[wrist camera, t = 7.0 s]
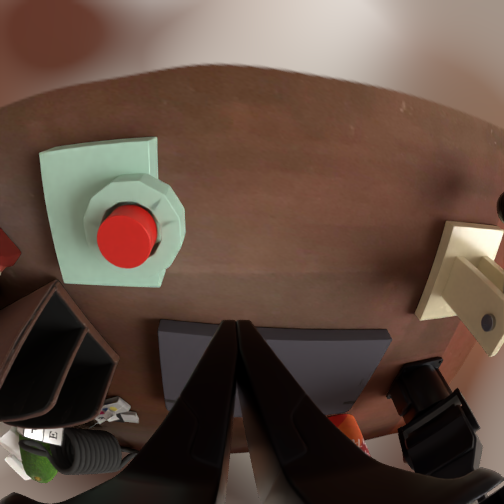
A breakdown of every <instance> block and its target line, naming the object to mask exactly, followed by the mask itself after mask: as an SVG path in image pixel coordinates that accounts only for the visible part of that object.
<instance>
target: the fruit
mask: <svg viewBox="0 0 504 504" xmlns="http://www.w3.org/2000/svg"><path fill="white" fill-rule="evenodd" d="M23 439H26V440H32V439H28V438H25V437H23V436H22V435H21V434H19V441H20V440H23ZM34 441H36V440H34ZM36 442H38V443H40V444H42V445H43V446H44V447H45V448H46V449H47V450H48V452H49V453H50V454H51V450H50V444H48V443H44V442H40V441H36ZM28 446H29V445H28ZM19 447H20V446H19ZM31 447H34V448H37V447H35V446H31ZM37 449H39V448H37ZM20 454H21V459H22V464H23V468H24V470H25V472H26V474H27V475H28V476H29V477H30V478H32V479H33V480H35V481H37V482H40V483H47V482H49V481H51V480H52V479H53V478H54V476H55V475H56V474H57V472H58V471H57V470H56V469H55V468H54V467H53V465H52V464H51V463H50V461H49V460H48V458H47V457H43V456H39V455H36V454H33V453H30V452H28V451H25V450H24V449H22V448H21V447H20ZM51 456H52V454H51Z"/></svg>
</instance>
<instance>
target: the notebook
mask: <svg viewBox="0 0 504 504" xmlns="http://www.w3.org/2000/svg"><path fill="white" fill-rule="evenodd" d="M218 327H219V325H216V324H204V323H193V322H183V321H173V320H164V319H161V320H160V324H159V328H158V341H159V353H160V363H161V372H162V381H163V390H164V397H165V398H164V399H165V405H166V409H167V410H168V411H170V410H171V408H172V407H173V405H174V403H175V402H176V400H177V398H178V397H179V395H180V393H181V392H182V390H183V388H184V386H185V385H186V383H187V381H188V379H189V378H190V376H191V374H192V372H193V371H194V369H195V367H196V365H197V364H198V362H199V360H200V358H201V357H202V355H203V353H204V351H205V350H206V348H207V346H208V344H209V343H210V341H211V339H212V337H213V336H214V334H215V332H216V330H217V329H218ZM255 328H256V329H257V330H258V332H259V333H260V334H261V336H262V337H263V338H264V340H265V341H266V342H267V344H268V345H269V346H270V347H271V349H272V350H273V351H274V353H275V354H276V355H277V357H278V358H279V359H280V360H281V362H282V363H283V364H284V366H285V367H286V368H287V369H288V371H289V372H290V373H291V375H292V376H293V377H294V378H295V380H296V381H297V382H298V383H299V385H300V386H301V387H302V388H303V390H304V391H305V392H306V394H307V395H308V396H309V397H310V398H311V400H312V401H313V402H314V403H315V404H316V406H317V407H318V408H319V409H320V410H321V411H322V412H323V414H324V415H330V414H341V413H345V412H347V411H349V410H350V409H351V407H352V406H353V404H354V403H355V401H356V400H357V398H358V397H359V395H360V393H361V392H362V390H363V389H364V387H365V386H366V384H367V382H368V381H369V379H370V378H371V376H372V374H373V373H374V371H375V369H376V368H377V366H378V364H379V362H380V361H381V359H382V357H383V355H384V354H385V352H386V350H387V348H388V346H389V345H390V343H391V341H392V338H391V336H390V334H389V333H388V331H387V329H380V330H315V329H282V328H261V327H255ZM234 417H242V413H241V407H240V402H239V397H238V390H237V386H236V399H235V409H234Z"/></svg>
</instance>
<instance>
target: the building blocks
mask: <svg viewBox="0 0 504 504" xmlns="http://www.w3.org/2000/svg"><path fill="white" fill-rule="evenodd" d="M63 431H64V428H57V429H25V428H19V427H17V432H18V433H19V434H21V435H22V436H23V437H25V438H28V439H32V440H36V441H40V442H44V443H48V444H52V445H57V446H61V447H62V441H63Z"/></svg>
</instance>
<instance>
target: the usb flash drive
mask: <svg viewBox="0 0 504 504" xmlns="http://www.w3.org/2000/svg"><path fill="white" fill-rule="evenodd" d="M124 405H125V406H124ZM122 406H123V407H122ZM121 407H122V408H121ZM119 408H120V409H119ZM130 408H131V406H130V405H129V404H128V403H126V402H125V401H124V400H123V399H121V398H120V397H119V396H117V397H113V398H109V399H105V401H104V404H103V407H102V410H101V412H100V414H99V415H98V416H97V418H101V419H103V418H104V417H103V415H104V414H105V412H106V411H107V410H108V409H109V410H110V411H113V412H115V411H116V410H117V411H116V412H115V413H116V416H117V417H118V418H119V419H118V420H115V421H117V422H133V423H139V418H138V416H137V414H136V412H131V411H129V410H130ZM118 409H119V410H118Z"/></svg>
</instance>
